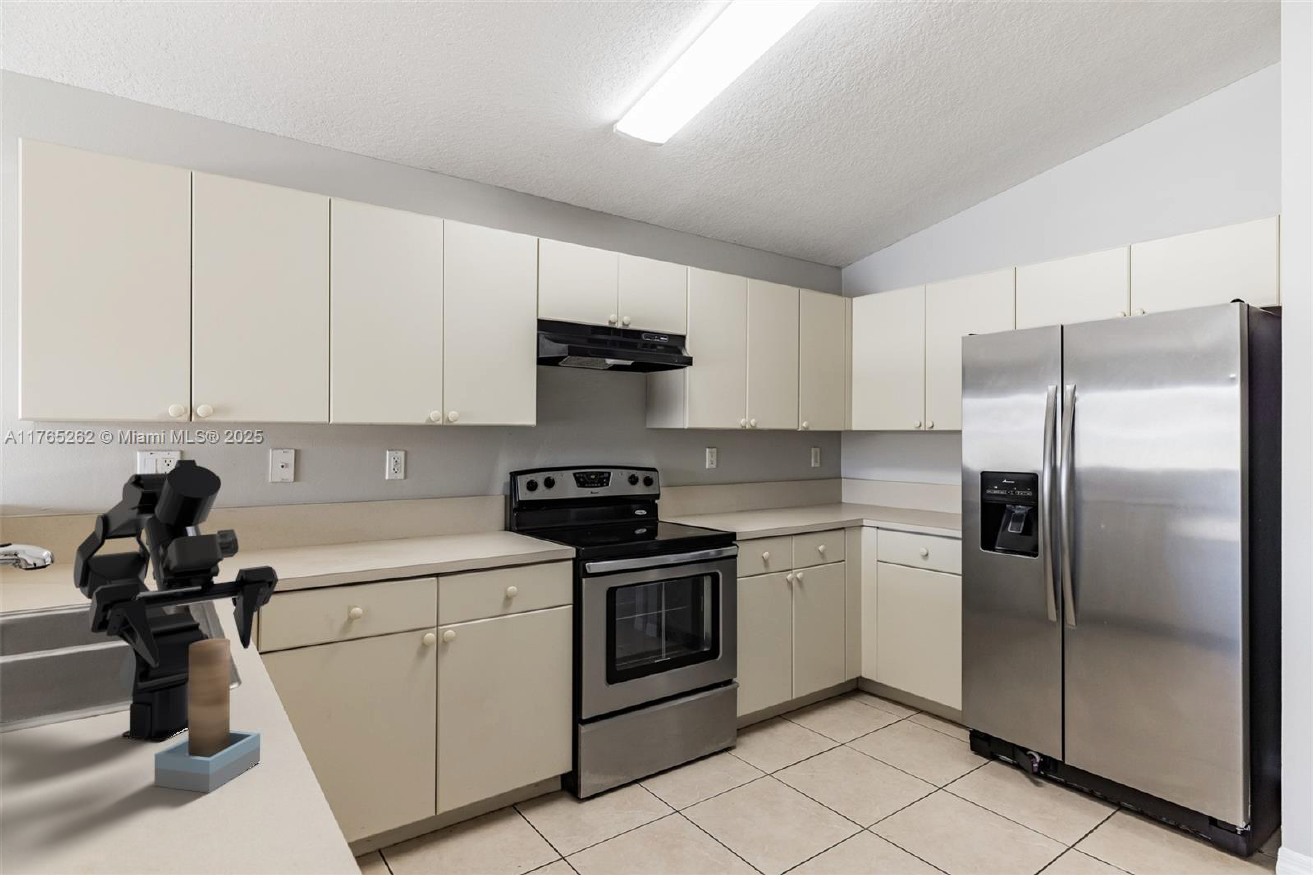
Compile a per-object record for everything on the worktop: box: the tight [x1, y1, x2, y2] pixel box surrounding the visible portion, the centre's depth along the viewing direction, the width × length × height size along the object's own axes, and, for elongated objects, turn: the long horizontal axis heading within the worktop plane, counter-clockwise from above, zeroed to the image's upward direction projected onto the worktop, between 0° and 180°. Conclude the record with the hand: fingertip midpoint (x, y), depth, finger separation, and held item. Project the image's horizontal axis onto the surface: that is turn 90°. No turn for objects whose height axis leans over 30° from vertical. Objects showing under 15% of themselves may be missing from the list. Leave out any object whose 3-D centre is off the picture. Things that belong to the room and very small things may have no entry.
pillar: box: [187, 637, 231, 758], centre depth 80 cm, size 4×4×13 cm
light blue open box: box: [154, 729, 261, 794], centre depth 80 cm, size 7×7×4 cm
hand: (203, 655), depth 81 cm, fingers open, 9 cm apart
